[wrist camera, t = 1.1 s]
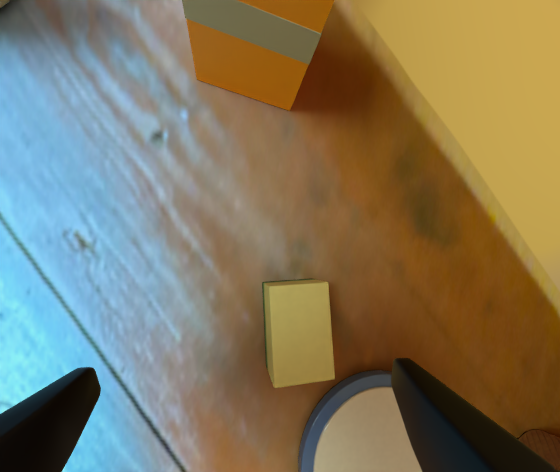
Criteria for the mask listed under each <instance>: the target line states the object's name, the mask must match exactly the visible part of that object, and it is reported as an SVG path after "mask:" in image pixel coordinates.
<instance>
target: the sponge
mask: <svg viewBox="0 0 560 472" xmlns="http://www.w3.org/2000/svg"><path fill="white" fill-rule="evenodd" d="M262 288H263V310H264V331H265V353H266V367H267V370H268V372H269V375H270V378H271V381H272V384H273V386H274V388H280V387H287V386H293V385H300V384H307V383H314V382H320V381H327V380H334V379H335V373H334V359H333V344H332V330H331V315H330V301H329V286H328V282H325V281H320V280H315V279H300V280H285V281H271V282H263V283H262Z"/></svg>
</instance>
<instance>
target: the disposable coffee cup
mask: <svg viewBox="0 0 560 472" xmlns="http://www.w3.org/2000/svg"><path fill="white" fill-rule="evenodd" d="M518 440H519V441H521V442H522V443H523V444H525V445H526V446H527V447H529V448H530V449H531V450H533V451H534V452H535V453H537V454H538V455H539V456H541V457H542V458H543V459H545V460H546V461H547V462H549V463H550V464H552V465H553V466H554V468H555V470H560V438H558V437H556V436H553V435H551V434H549V433H547V432H544V431H541V430H531V431H528V432H526V433H524V434H523V435H522V436H521V437H520V438H519V439H518Z"/></svg>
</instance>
